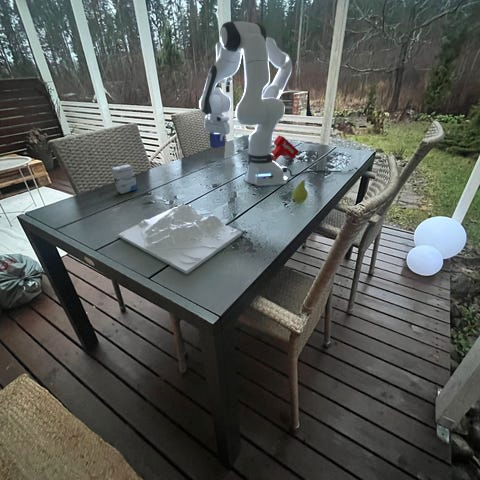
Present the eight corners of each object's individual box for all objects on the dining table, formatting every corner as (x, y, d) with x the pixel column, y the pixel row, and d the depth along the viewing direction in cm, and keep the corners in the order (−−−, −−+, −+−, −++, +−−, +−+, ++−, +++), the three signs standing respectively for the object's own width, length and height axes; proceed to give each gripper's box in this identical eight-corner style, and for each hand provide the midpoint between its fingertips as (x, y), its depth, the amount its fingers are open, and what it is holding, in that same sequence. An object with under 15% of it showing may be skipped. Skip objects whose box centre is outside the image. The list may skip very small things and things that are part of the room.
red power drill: (268, 157, 168) (282, 135, 165) (265, 155, 171) (278, 134, 168) (286, 171, 180) (299, 151, 177) (282, 169, 183) (295, 150, 180)
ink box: (133, 186, 138) (127, 163, 132) (137, 189, 135) (132, 165, 129) (116, 191, 133) (110, 167, 127) (121, 194, 130) (114, 170, 124)
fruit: (288, 200, 123) (290, 174, 116) (302, 197, 125) (305, 172, 119) (296, 206, 118) (299, 179, 111) (310, 203, 120) (314, 177, 114)
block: (210, 146, 177) (209, 133, 173) (219, 144, 182) (218, 131, 178) (215, 148, 174) (215, 134, 170) (225, 145, 179) (224, 132, 175)
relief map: (186, 274, 80) (184, 260, 77) (118, 236, 97) (114, 224, 95) (241, 234, 98) (241, 222, 95) (176, 209, 116) (174, 198, 113)
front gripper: (200, 115, 173) (202, 138, 180) (223, 118, 161) (224, 143, 168) (208, 114, 177) (209, 137, 184) (231, 117, 165) (231, 141, 172)
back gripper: (209, 64, 191) (211, 91, 200) (227, 64, 181) (228, 92, 191) (217, 64, 196) (218, 91, 205) (234, 64, 186) (235, 92, 195)
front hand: (217, 139), depth 176 cm, fingers closed on block, 5 cm apart
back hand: (223, 92), depth 198 cm, fingers open, 9 cm apart
